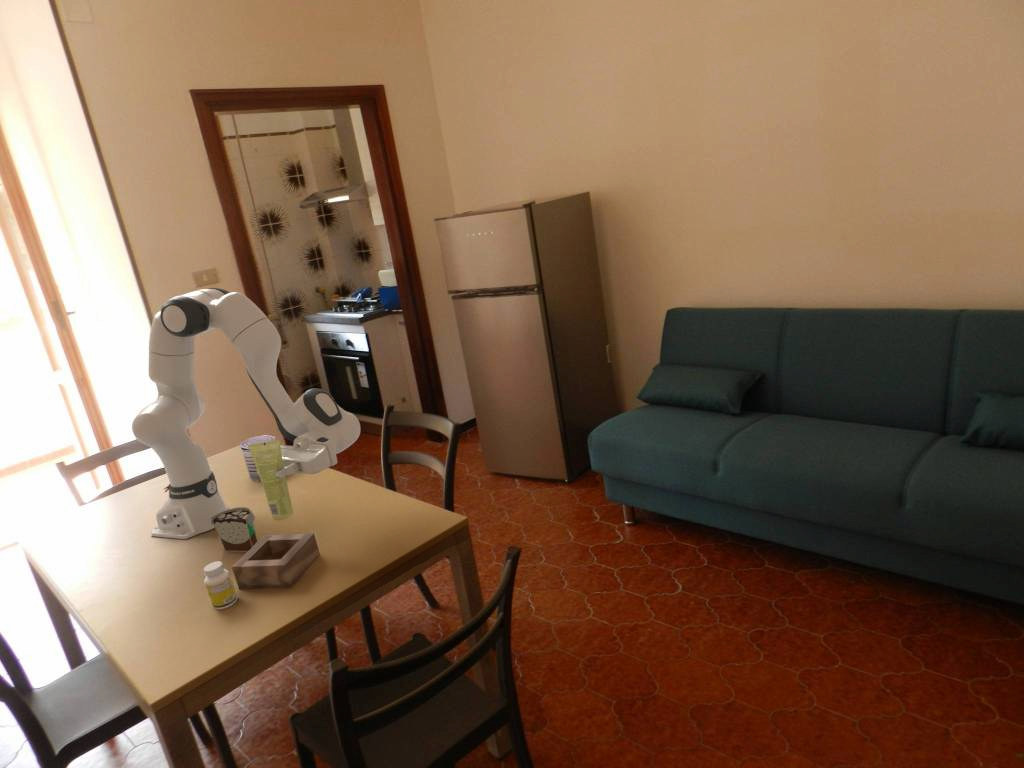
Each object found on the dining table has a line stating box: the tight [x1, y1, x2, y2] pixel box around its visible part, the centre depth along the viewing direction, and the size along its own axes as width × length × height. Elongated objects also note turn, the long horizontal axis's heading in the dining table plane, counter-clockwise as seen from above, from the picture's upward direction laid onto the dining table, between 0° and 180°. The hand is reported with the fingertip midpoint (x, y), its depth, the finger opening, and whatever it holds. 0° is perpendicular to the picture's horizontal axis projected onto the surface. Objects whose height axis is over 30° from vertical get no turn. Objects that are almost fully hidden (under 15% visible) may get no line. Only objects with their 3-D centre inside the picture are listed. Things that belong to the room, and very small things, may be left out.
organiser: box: [231, 532, 321, 590], centre depth 169 cm, size 14×14×6 cm
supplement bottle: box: [203, 560, 239, 611], centre depth 159 cm, size 5×5×10 cm
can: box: [239, 434, 276, 482], centre depth 234 cm, size 11×11×12 cm
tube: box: [248, 439, 294, 521], centre depth 169 cm, size 6×5×20 cm
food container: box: [211, 506, 258, 553], centre depth 185 cm, size 12×6×10 cm, turn 71°
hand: (268, 473), depth 167 cm, fingers closed on tube, 5 cm apart
